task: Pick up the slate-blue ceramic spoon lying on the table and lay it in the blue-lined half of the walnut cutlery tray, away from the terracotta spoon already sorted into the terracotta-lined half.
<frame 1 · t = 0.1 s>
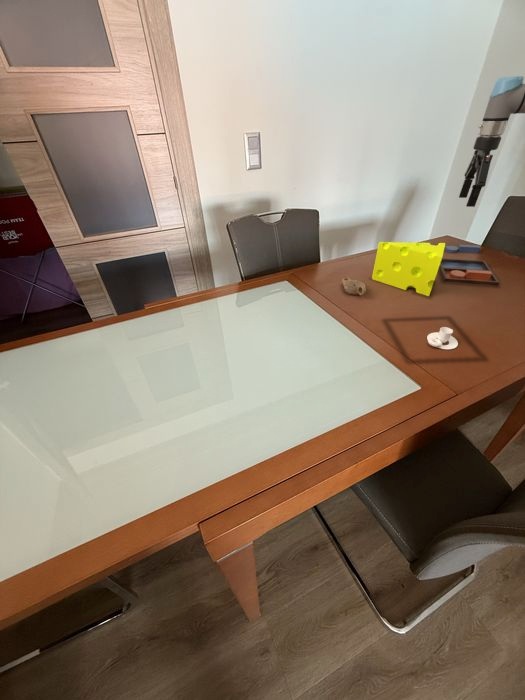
hand: (466, 201, 119), 22 cm above the table, tool pointing down, fingers open, 13 cm apart
oil lamp: (353, 292, 112), on the table
cheese wedge: (409, 286, 113), on the table
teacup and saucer: (429, 339, 88), on the table
cutlery tray: (464, 274, 119), on the table
blue spoon: (460, 251, 135), on the table
terracotta spoon: (467, 277, 115), point 1 cm above the table, touching cutlery tray
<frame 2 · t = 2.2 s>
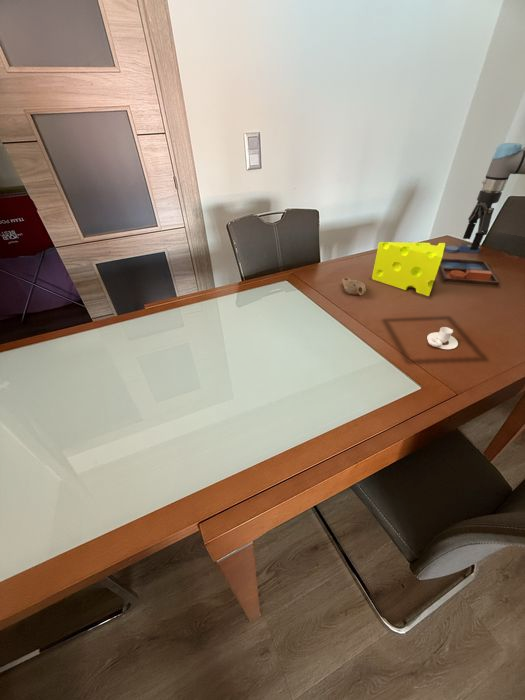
hand: (469, 244, 133), 3 cm above the table, tool pointing down, fingers open, 13 cm apart
nothing on the table moved.
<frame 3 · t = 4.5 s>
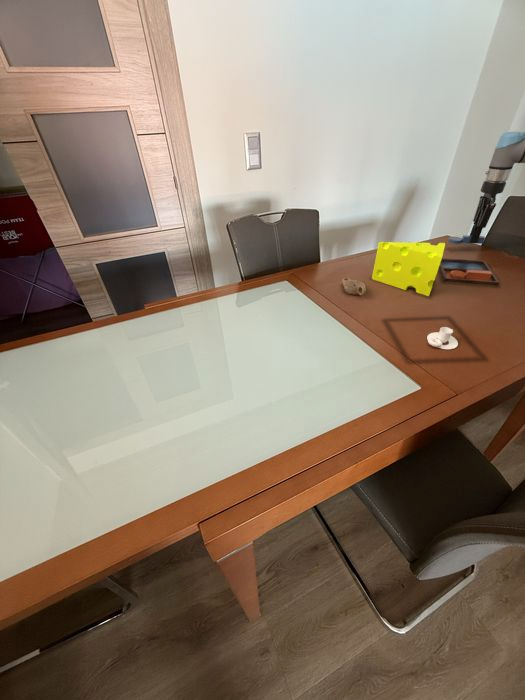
hand: (472, 241, 132), 5 cm above the table, tool pointing down, fingers closed on blue spoon, 2 cm apart
blue spoon: (464, 242, 133), point 4 cm above the table, touching gripper
everything else where it was.
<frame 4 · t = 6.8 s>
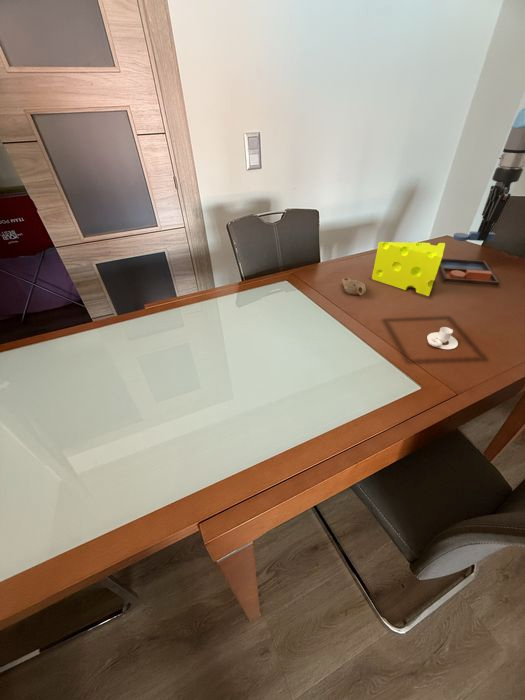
hand: (480, 238, 114), 12 cm above the table, tool pointing down, fingers closed on blue spoon, 2 cm apart
blue spoon: (470, 239, 115), point 12 cm above the table, touching gripper
everything else where it was.
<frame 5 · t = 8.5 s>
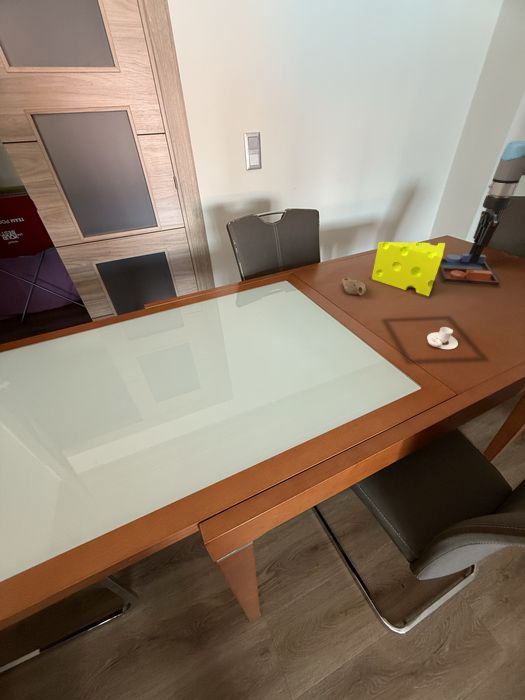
hand: (472, 260, 119), 4 cm above the table, tool pointing down, fingers closed on blue spoon, 2 cm apart
blue spoon: (462, 261, 120), point 3 cm above the table, touching gripper
everything else where it was.
when the fingers open (1 cm above the table, at t = 9.3 s): blue spoon stays where it is, resting on cutlery tray.
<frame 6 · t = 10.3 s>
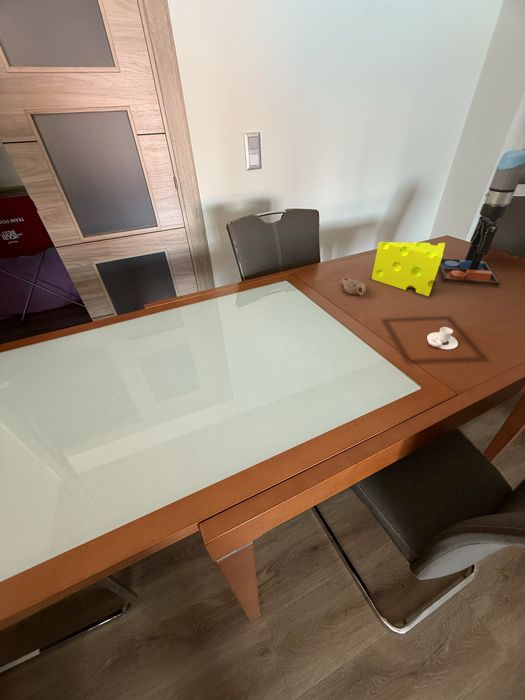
hand: (470, 265, 120), 2 cm above the table, tool pointing down, fingers open, 7 cm apart
blue spoon: (460, 267, 122), point 1 cm above the table, touching cutlery tray
everything else where it was.
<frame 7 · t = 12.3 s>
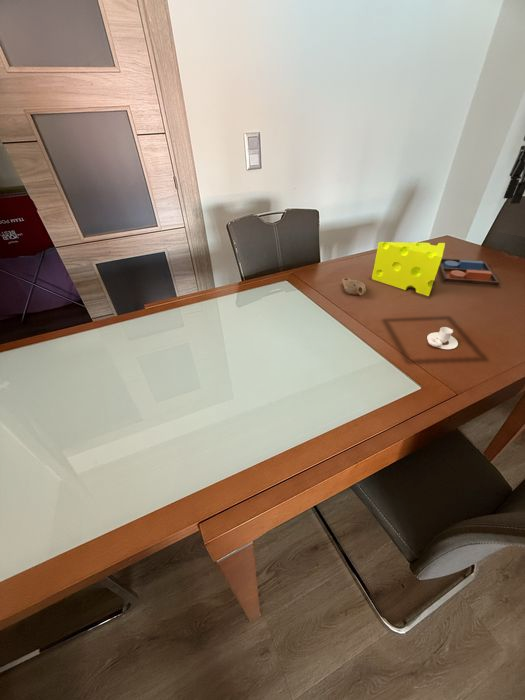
hand: (511, 200, 116), 22 cm above the table, tool pointing down, fingers open, 7 cm apart
nothing on the table moved.
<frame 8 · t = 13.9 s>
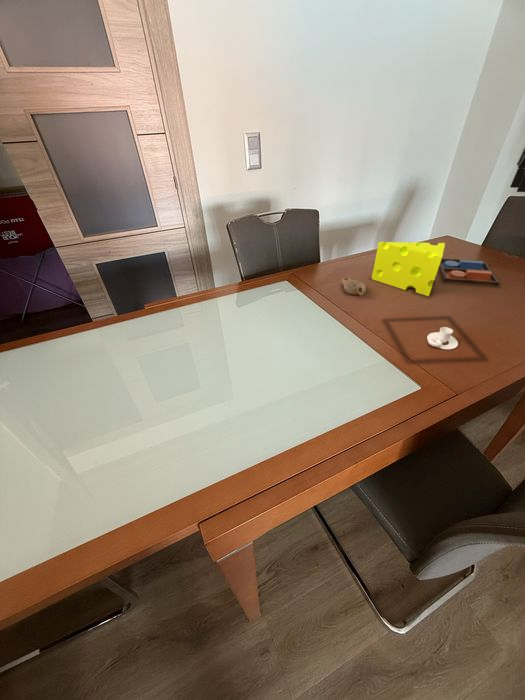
hand: (517, 189, 117), 25 cm above the table, tool pointing down, fingers open, 7 cm apart
nothing on the table moved.
at the end: blue spoon inside the target area on the cutlery tray (0.6 cm from its centre), point 0.8 cm above the cutlery tray's base; blue spoon tilted 0°; terracotta spoon moved 0.0 cm from its start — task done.
